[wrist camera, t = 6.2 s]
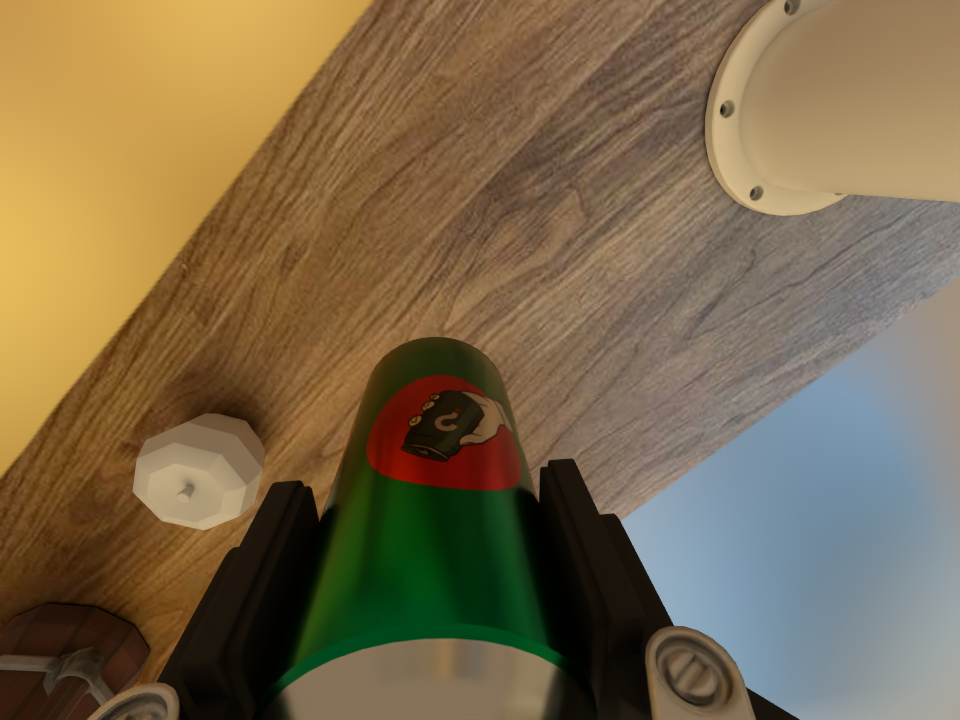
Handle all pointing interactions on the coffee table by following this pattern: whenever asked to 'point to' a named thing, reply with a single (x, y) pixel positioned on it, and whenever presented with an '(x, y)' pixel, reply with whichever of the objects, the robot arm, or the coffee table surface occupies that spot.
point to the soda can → (430, 564)
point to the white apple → (200, 471)
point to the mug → (66, 662)
